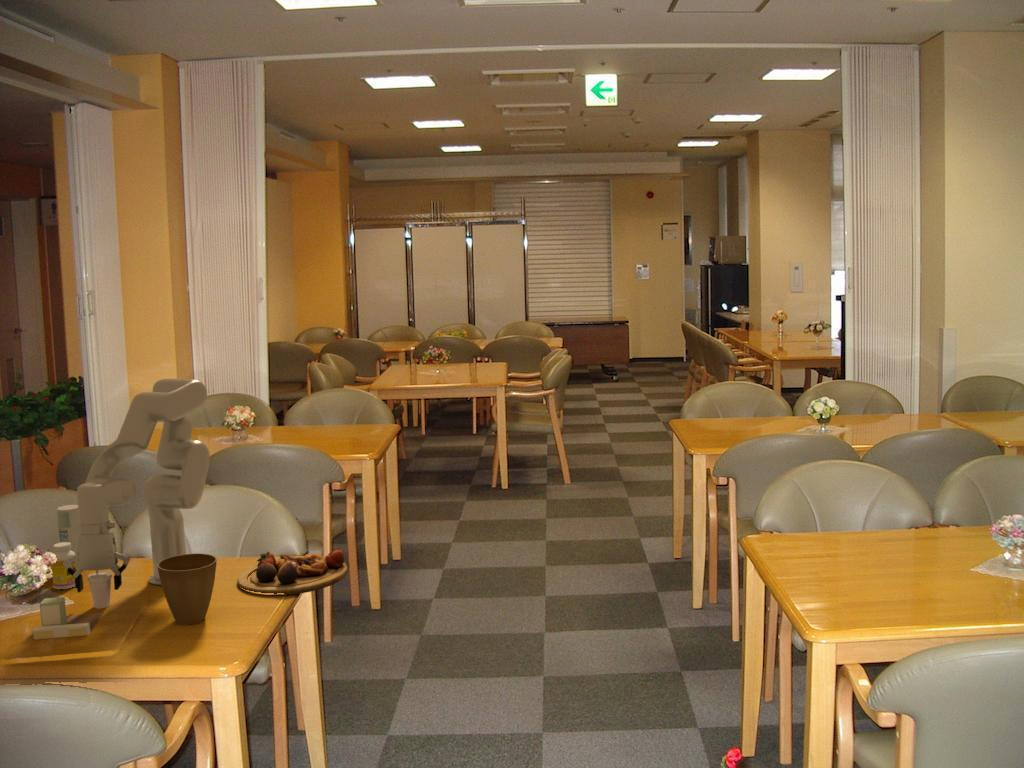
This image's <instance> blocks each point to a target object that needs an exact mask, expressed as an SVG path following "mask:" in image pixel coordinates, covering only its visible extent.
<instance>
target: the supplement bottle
mask: <svg viewBox="0 0 1024 768" xmlns="http://www.w3.org/2000/svg"><path fill="white" fill-rule="evenodd" d="M52 546H53V551H54V552H53V553H52V554H55V555H56V557H57V561H56V563H55V564H53V565H52V566H51V573H52V572H53V576H52V575H51V577H52V586H53V589H55V590H60V589H63V590H68V589H69V588H70V589H72V587H73V588H74V587H75V578H73V576H72V575H71V574H70V573H69V572H68V571H67V569H66V568H65V566H64V565H63V562H64V561H66V560H67V559H69V558H71V557H73V556H75V553H74V552H73V551H71V550H70V548H71V543H69V542H61V543H60V542H58V543H54V544H53V545H52ZM71 566H72V567H73V568H74V569H76V561H74V562H72V563H71ZM76 570H77V569H76Z"/></svg>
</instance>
